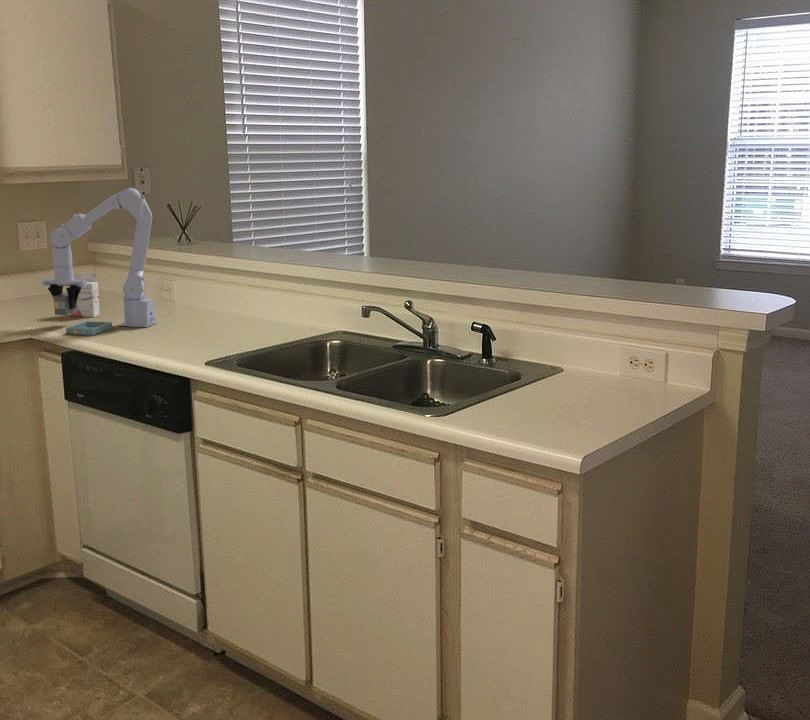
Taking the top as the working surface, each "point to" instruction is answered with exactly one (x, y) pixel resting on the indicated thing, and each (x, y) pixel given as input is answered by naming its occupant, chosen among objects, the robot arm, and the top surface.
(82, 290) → the ink cartridge box
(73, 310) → the block
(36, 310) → the top surface
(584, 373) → the top surface
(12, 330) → the top surface
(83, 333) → the service tray
